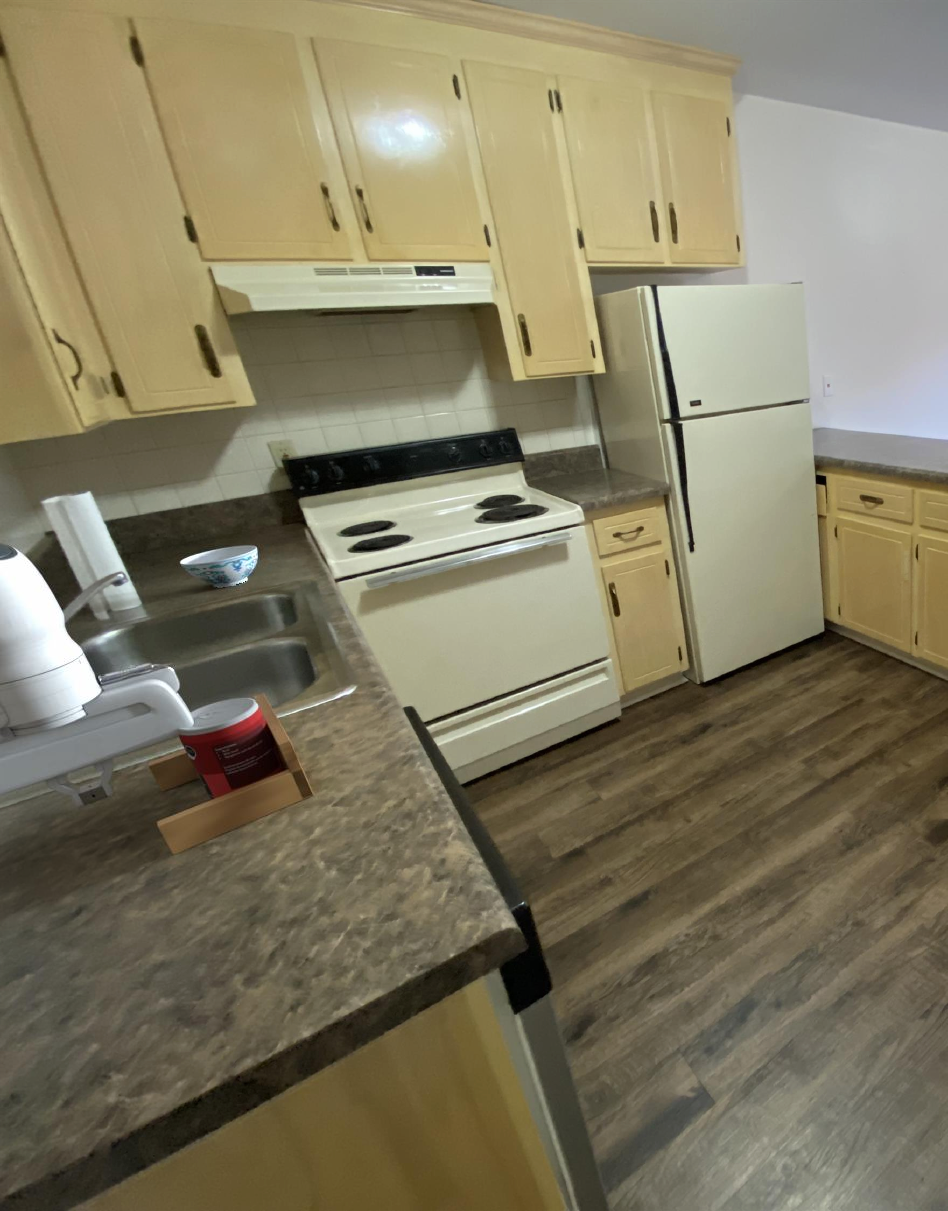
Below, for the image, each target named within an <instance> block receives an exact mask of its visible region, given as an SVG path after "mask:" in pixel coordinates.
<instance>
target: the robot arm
mask: <svg viewBox="0 0 948 1211" xmlns="http://www.w3.org/2000/svg"><path fill="white" fill-rule="evenodd" d="M65 620H66V619H65V614H64V612H63V610H62V608H61V606H60V603H59V602H58V600H57V599H56V597H55V595H54V593H53V591H52V589H51V588H50V586H49V585H48V583H47V582H46V580H45V579H44V577H43V575H42V574H41V573H40V571H39V569H38V568H37V567H36V566H35V565H34V563H33V562H32V561H31V560H30V559H29V558H28V557H27V556H26V555H25V554H23V553H22V552H21V551H20V550H18V549H17V548H15V547H14V546H12V545H9V544H5V543H1V542H0V796H3V795H5V794H6V795H7V794H9V793H12V792H15V791H18V790H22V789H25V788H27V787H30V786H34V785H36V784H39V783H42V782H45V783H46V785H47V787H48V789H50V790H51V791H55V792H57V793H60V794H62V795H64V796H67V797H71V798H72V800H73V801H74V804H75V805H76V806H77V808H82V807H85V806H87V805H90V804H93V803H96V802H98V801H99V802H100V801H102V800H105V799H108V798H110V797H112V796H115V795H116V793H115V789H114V787H113V785H112V783H111V779H112V775H113V773H114V770H115V758H118V757H122V756H124V755H127V754H131V753H134V752H137V751H139V750H142V749H146V748H149V747H151V746H155V745H158V744H161V743H163V742H167V741H170V740H173V739H175V738H179V732H178V729H179V728H188V727H192V726H193V725H194V720H193V718H192V715H191V711H190V709H189V707H188V706H187V704H186V703H185V701H184V699H183V698H182V696H181V695H180V694H179V693H178V692H179V690H180V688H181V681H180V679H179V677H178V674H177V672H176V671H175V669H174V668H173V667H171V666H170V665H166V664H162V663H154V664H153V663H152V662H144V663H139V664H136V665H135V666H133V667H128V668H124V669H120V670H119V669H118V670H113V671H109V672H105V673H101V674H99V675H97V674H95V672H94V670H93V668H92V666H91V664H90V662H89V660H88V659H87V657H86V655H85V653H84V650H83V649H82V648H81V646H80V645H79V644H78V643H77V642H76V641H75V640H74V639H72V638H71V636H70V635H69V633H68V631H67V627H66V622H65ZM91 766H93V768H94V769H95V771H96V772H98V773H99V772H100V776H99V778H98V780H94V781H92V782H90V783H87V784H83V785H78V784H75V783H73V782H71V781H69V780H68V774H70V773H73V772H76V771H79V770H82V769H86V768H89V767H91Z"/></svg>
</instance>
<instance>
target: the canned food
mask: <svg viewBox="0 0 948 1211" xmlns="http://www.w3.org/2000/svg"><path fill="white" fill-rule="evenodd" d="M190 713H191V715H192V718H193V720H194V725H193V726H192V727H188V728H179V729H178V732H179V737H178V738H179V741H180V743H181V745H182V746H183V748H184V750H186V752H187V754H188V756H189V758H190V760H191V762H192V764H193V766H194V768H195V770H196V772H197V774H198V776H199V778H198V779H199V780H200V781H201V783H202V785H203V788H204V789H205V791H206V793H207V795H208V797H209V798H210V800H213V799H215V798H218V797H220V796H223V795H225V794H228V793H230V792H233V791H235V790H238V789H241V788H243V787H246V786H248V785H251V784H253V783H256V782H258V781H261V780H263V779H266V778H268V777H271V776H273V775H276V774H278V773H281V772H283V771H286V770H287V769H286V767H285V765H284V763H283V761H282V758H281V756H280V754H279V751H278V749H277V747H276V745H275V742H274V740H273V738H272V735H271V733H270V731H269V729H268V726H267V724H266V722H265V719H264V717H263V715H262V713H261V711H260V709H259V706H258V704H257V703H256V701H255V700H254V698H250V697H237V698H230V699H225V700H220V701H217V702H213V703H210V704H207V705H205V706H202V707H201V706H200V707H199V708H197V709H194V710H192V711H190Z"/></svg>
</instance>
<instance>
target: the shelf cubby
mask: <svg viewBox="0 0 948 1211" xmlns="http://www.w3.org/2000/svg"><path fill="white" fill-rule="evenodd" d="M252 699H253V700H255V701H256V703H257V704H258V706H259V709H260V711H261V713H262V715H263V717H264V719H265V722H266V724H267V726H268V729H269V731H270V733H271V735H272V738H273V740H274V742H275V745H276V747H277V749H278V751H279V754H280V756H281V758H282V761H283V763H284V765H285V768H286V771H283V772H281V773H278V774H276V775H273V776H271V777H268V778H266V779H263V780H261V781H258V782H256V783H253V784H251V785H248V786H246V787H243V788H241V789H238V790H235V791H233V792H230V793H228V794H225V795H223V796H220V797H218V798H215V799H213V800H212V799H210V800H208V801H205V802H203V803H200V804H197V805H196V806H192V807H190V808H188V809H185V810H183V811H181V812H178V813H176V814H175V813H174V814H173V815H171V816H170V815H169V816H167V817H165V818H163V819H160V820H158V821H156V826H157V828H158V830H159V832H160V834H161V835H162V837H163V839H164V841H165V843H166V844H167V846H168V849H169V850H170V852H171V853H172V855H173V856H174V855H177V854H179V853H182V852H184V851H186V850H189V849H191V848H194V847H195V846H199V845H200V844H202V843H205V842H207V841H209V840H212V839H214V838H217V837H219V836H221V835H224V834H226V833H228V832H231V831H233V830H236V829H237V828H240V827H243V826H245V825H247V824H249V823H252V822H255V821H257V820H259V819H261V818H263V817H265V816H268V815H270V814H272V813H275V812H277V811H280V810H282V809H284V808H287V807H289V806H292V805H293V804H296V803H299V802H301V801H303V800H305V799H308V798H310V797H312V796H314V795H315V794H314V791H313V790H312V787H311V785H310V783H309V780H308V778H307V776H306V774H305V771H304V769H303V766H302V764H301V762H300V760H299V757H298V755H297V752H296V751H295V748H294V746H293V743H292V740H291V739H290V737H289V735H288V734H287V732H286V730H285V729H284V727H283V725H282V724H281V721H280V719H279V718H278V716H277V714H276V713H275V711H274V709H273V707H272V706H271V704H270V702H269V700H268V698H267V697H266V694H265V693H260V694H258V695H253V697H252ZM147 765H148V768H149V771H150V772H151V774H152V776H153V777H154V779H155V781H156V783H157V785H158V787H159V789H160V791H161V792H162V793H163V792H166V791H168V790H171V789H174V788H176V787H179V786H182V785H184V784H187V783H190V782H192V781H195V780H198V779H200V778H199V776H198V774H197V772H196V770H195V768H194V766H193V764H192V762H191V760H190V758H189V756H188V754H187V752H186V750H185V749H183V750H180V751H177V752H174V753H171V754H168V755H166V756H163V757H160V758H157V759H154V760H151V761H149V762H147Z"/></svg>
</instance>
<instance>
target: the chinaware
mask: <svg viewBox="0 0 948 1211" xmlns="http://www.w3.org/2000/svg"><path fill="white" fill-rule="evenodd" d="M258 556H259V555H258V548H257V546H256V545H237V546H236V545H235V546H228V547H223V548H222V547H221V548H216V549H212V550H208V551H203V552H200V553H196V554H193V555H189V556H187V557H185V558H182V559H181V560H180V561H179V564H180V566H181V567H182V568H183V570H185V572H186V573H187V574H188V575H190V576H191V577H193V578H194V579H196V580H198V581H200V582H202V583H204V584H205V583H206V584H209V585H212V586H213V587H214V588H215V587H217V588H216V589H224V588H223V587H225V588H230V586H231V587H234V586H237V585H236V584H239V583H242V584H244V583H246V582H247V581H248V580H249V579H248V577H249V576H250V575H251V574H252V572H253V571H254V570H255V568H256V566H257V563H258ZM245 581H246V582H245ZM243 582H244V583H243ZM239 585H240V584H239Z"/></svg>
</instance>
